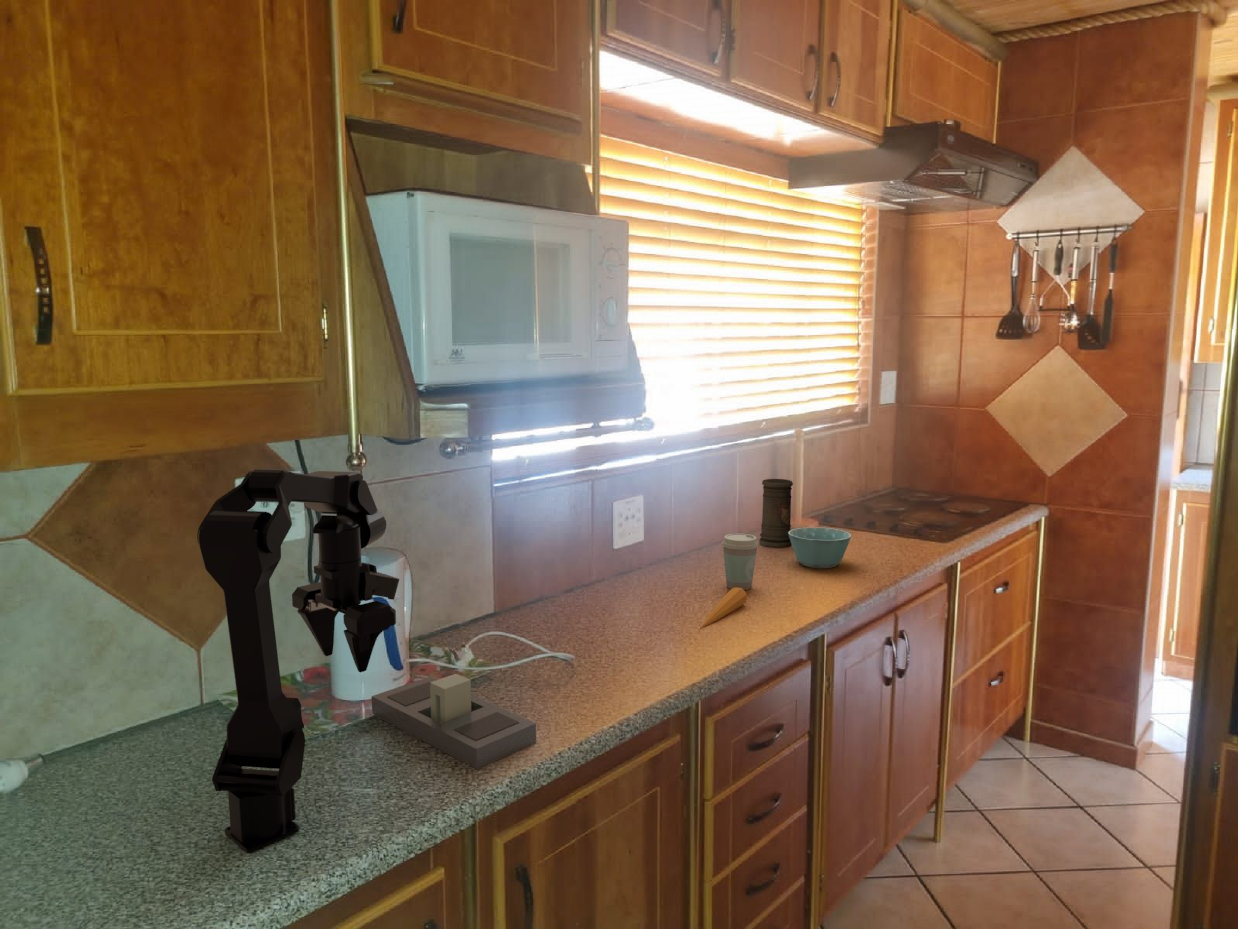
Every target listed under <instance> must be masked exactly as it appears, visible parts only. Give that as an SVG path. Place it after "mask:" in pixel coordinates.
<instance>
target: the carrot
mask: <svg viewBox="0 0 1238 929" xmlns="http://www.w3.org/2000/svg"><path fill="white" fill-rule="evenodd" d="M747 594H748V593H747V592H746V590H743V589H742V588H737V587H735V588H732V589H730V590H729V591H728V592H727V593H726V594H725V595H724V597H722V599H721V600H720V601H719V602H718V603H717V605H716V606H715V607H714V609H713V610H712V611H711V613H710V614H708V616H707V618H706V619H705V620H704V622H703V623H702V625H701V627H700V629H702V628H704V627H706V626H709V625H711V624H712V623H715V622H717V621H718V620H720V619H722V618H723V617H725V616H727V615H729V614H730V613H733V612H734V611H736V610H737V609H739V608H741V607H742V606H744V605H745V604H746V603H747Z"/></svg>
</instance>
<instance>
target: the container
mask: <svg viewBox="0 0 1238 929" xmlns="http://www.w3.org/2000/svg"><path fill="white" fill-rule="evenodd" d="M761 485H762V488H763V492H762V493H763V494H762V516H761V517H762V518H761V525H760V527H761V531H760V532H761V533H760V534H759V536H760V538H759V540H758V543H759V544H760V545H761V546H764V547H769V548H786V547H787V548H788V547H790V546H792V544H791V541H790V538H789V534H788V532H789V531H791V527H792V525H791V514H792V513H791V512H792V487H793V485H794V482H793V480H791V479H786V478H785V479H784V478H767V479H766V478H765V479H763V480H762V482H761Z"/></svg>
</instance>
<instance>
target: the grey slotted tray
mask: <svg viewBox="0 0 1238 929" xmlns="http://www.w3.org/2000/svg"><path fill="white" fill-rule="evenodd" d="M436 680H438V679H436V678H434V677H432V676H427V677H424V678H422V679H421V678H420V679H418V680H415V681H413V682H410V683H407V684H404V685H401V686H397V687H395V688H392V689H389V690H386V691H383V692H380V693H377V694H373V695H371V713H373V714H374V715H373V714H372V715H373V716H375V717H377V718H379V719H381V720H383V721H384V722H386V723H387V724H390V725H392V726H394V727H395V728H398V729H399V730H401V731H403V732H405V733H407V734H409V735H411V736H413V737H415V738H417V739H418V740H421V741H422V742H423V743H426V744H427V745H429V746H432V747H434V748H435V749H437V750H438V751H441V752H442V753H445V754H447V755H449V756H450V757H453V758H455V759H456V760H458V761H460V762H462V763H463V764H466V765H468V766H470V767H472V768H474V769H475V770H478V769H481V768H483V767H485V766H488V765H490V764H492V763H494V762H496V761H499V760H501V759H503V758H505V757H507V756H510V755H512V754H514V753H517V752H519V751H521V750H523V749H525V748H527V747H530V746H532V745H534V744H536V743H537V723H536V722H534V721H531V720H529V719H527V718H525V717H522V716H521V715H518V714H516V713H514V712H511V711H509V710H508V709H504V708H503V707H500V706H498V705H496V704H493V703H490V702H489V701H487V700H484V699H481V698H479V697H478V696H475V695H473V694H471V712H470V713H467V714H465V715H462V716H460V717H457V718H455V719H452V720H449V721H447V722H444V723H442V724H441V723H439V722H437V721H435V720H433V719H431V696H430V682H433V681H436Z"/></svg>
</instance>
